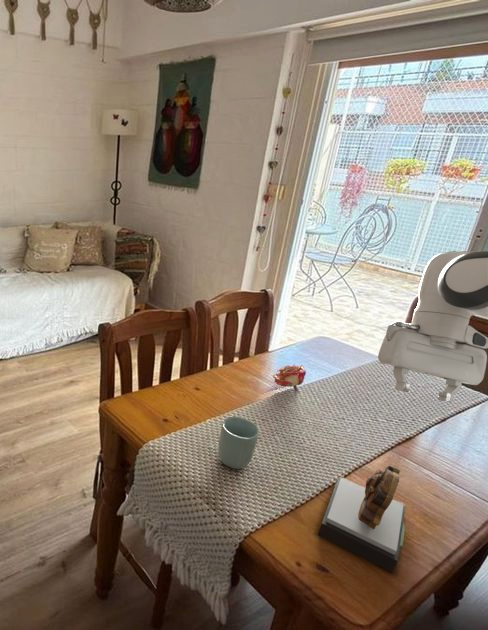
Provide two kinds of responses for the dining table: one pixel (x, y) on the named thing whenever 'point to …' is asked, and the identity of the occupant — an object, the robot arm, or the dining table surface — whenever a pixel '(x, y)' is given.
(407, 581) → the dining table surface
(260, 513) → the dining table surface
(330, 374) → the dining table surface
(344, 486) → the kitchen scale
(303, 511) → the dining table surface
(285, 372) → the flower
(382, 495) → the wooden carving
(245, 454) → the cup
